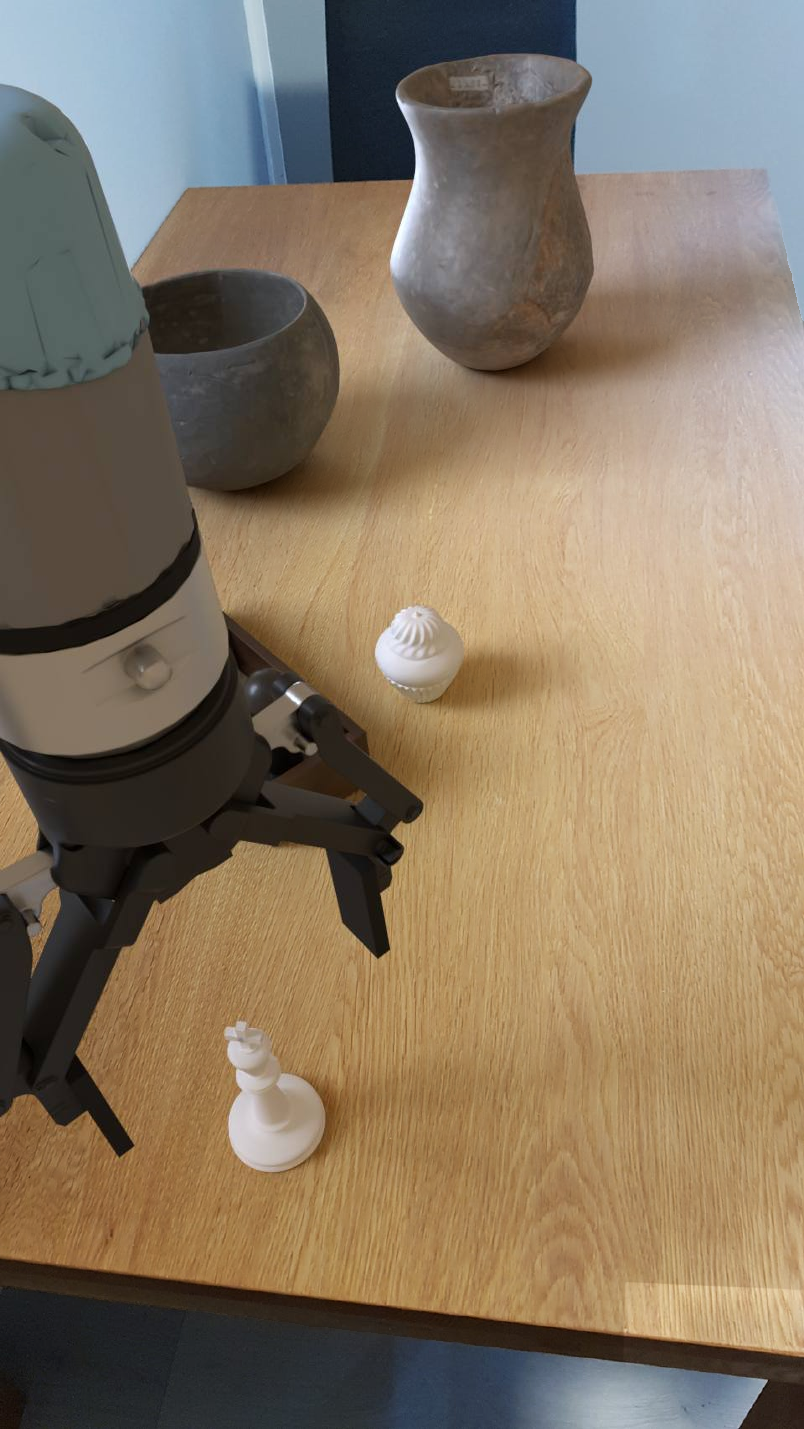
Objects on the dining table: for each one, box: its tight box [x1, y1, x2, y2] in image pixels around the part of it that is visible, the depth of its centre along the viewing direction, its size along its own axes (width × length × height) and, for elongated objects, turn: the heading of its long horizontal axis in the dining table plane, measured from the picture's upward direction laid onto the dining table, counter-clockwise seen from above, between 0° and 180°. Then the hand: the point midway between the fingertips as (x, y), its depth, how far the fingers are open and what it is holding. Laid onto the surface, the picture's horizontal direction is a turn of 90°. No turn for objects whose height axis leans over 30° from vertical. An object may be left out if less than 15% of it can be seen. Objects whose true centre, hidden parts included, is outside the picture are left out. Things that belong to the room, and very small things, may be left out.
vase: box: [389, 53, 595, 371], centre depth 101 cm, size 20×19×25 cm
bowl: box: [140, 267, 341, 492], centre depth 93 cm, size 20×20×15 cm
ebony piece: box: [243, 668, 314, 782], centre depth 67 cm, size 4×4×9 cm
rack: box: [222, 610, 371, 848], centre depth 74 cm, size 8×23×5 cm, turn 40°
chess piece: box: [223, 1020, 327, 1173], centre depth 51 cm, size 5×5×10 cm
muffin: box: [374, 604, 465, 704], centre depth 74 cm, size 6×6×7 cm
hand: (246, 1026), depth 47 cm, fingers open, 13 cm apart
